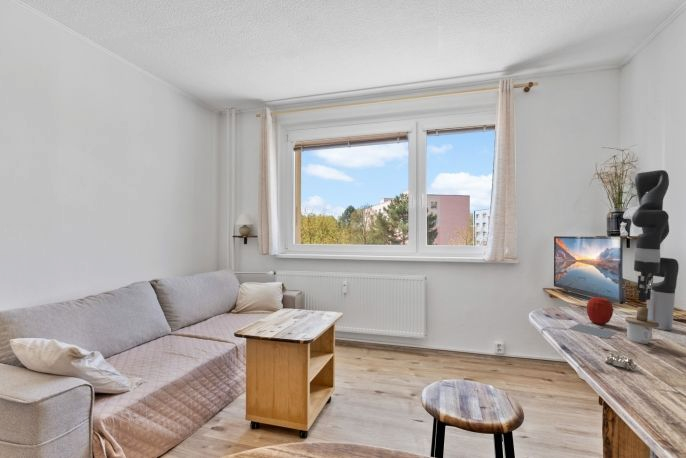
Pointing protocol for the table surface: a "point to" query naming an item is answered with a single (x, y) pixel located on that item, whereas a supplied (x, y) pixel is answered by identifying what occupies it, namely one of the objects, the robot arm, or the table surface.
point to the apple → (599, 310)
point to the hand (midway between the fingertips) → (644, 300)
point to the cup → (639, 333)
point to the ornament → (621, 362)
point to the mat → (592, 331)
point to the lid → (642, 318)
